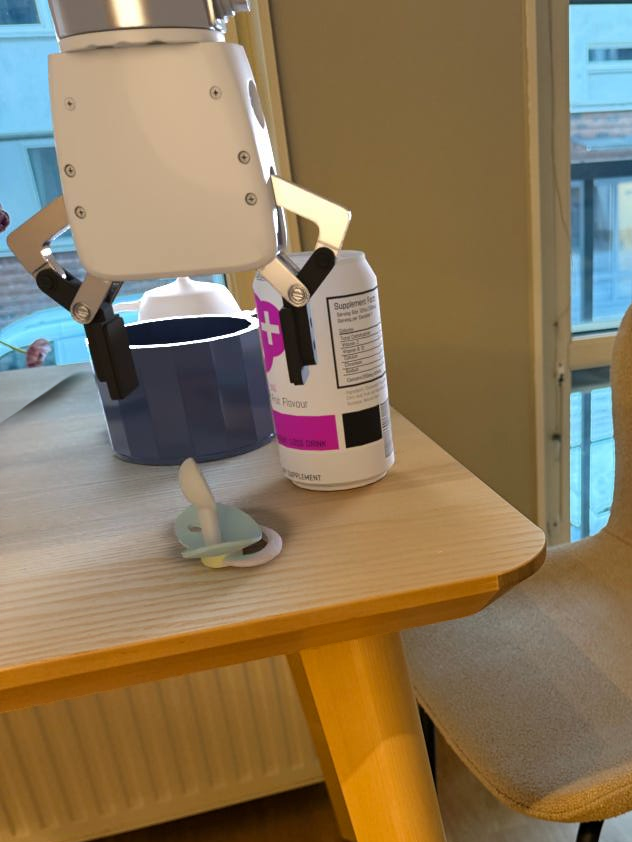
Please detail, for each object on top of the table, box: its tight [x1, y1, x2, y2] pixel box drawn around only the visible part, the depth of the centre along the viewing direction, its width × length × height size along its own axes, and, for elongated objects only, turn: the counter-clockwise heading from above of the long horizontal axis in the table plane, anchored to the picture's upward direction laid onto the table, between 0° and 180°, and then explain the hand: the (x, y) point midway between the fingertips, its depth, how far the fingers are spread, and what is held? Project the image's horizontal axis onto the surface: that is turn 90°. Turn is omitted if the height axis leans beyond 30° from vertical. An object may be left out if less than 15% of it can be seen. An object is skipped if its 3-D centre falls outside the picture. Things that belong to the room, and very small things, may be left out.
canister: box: [84, 315, 277, 466], centre depth 76 cm, size 14×14×9 cm
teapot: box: [112, 277, 257, 322], centre depth 106 cm, size 20×12×10 cm, turn 102°
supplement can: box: [252, 249, 395, 492], centre depth 65 cm, size 8×8×15 cm
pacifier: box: [173, 458, 284, 569], centre depth 54 cm, size 7×6×6 cm
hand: (213, 387), depth 51 cm, fingers open, 9 cm apart
